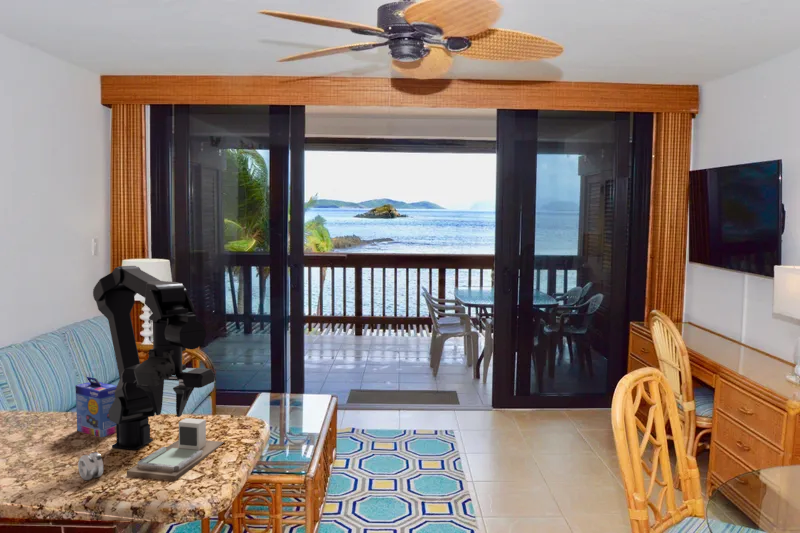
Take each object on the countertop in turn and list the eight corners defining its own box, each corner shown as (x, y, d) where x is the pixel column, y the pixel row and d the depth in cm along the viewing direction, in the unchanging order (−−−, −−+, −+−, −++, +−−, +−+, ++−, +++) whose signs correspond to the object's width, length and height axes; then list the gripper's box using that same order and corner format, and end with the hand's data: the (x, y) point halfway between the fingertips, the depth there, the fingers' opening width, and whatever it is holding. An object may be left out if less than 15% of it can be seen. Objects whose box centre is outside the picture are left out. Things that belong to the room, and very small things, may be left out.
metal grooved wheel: (103, 479, 121) (103, 455, 121) (88, 484, 119) (87, 459, 119) (92, 473, 124) (91, 449, 124) (77, 477, 122) (76, 453, 122)
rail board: (126, 476, 123) (126, 470, 123) (181, 443, 142) (181, 437, 142) (175, 481, 120) (175, 475, 120) (224, 447, 140) (224, 441, 140)
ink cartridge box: (75, 433, 148) (73, 375, 147) (95, 427, 153) (94, 371, 152) (100, 440, 143) (99, 381, 142) (121, 434, 148) (120, 376, 147)
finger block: (177, 448, 135) (177, 422, 135) (186, 443, 139) (185, 418, 138) (198, 450, 134) (197, 424, 134) (205, 445, 137) (205, 419, 137)
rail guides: (135, 467, 124) (135, 463, 124) (163, 451, 134) (163, 446, 134) (177, 472, 122) (177, 467, 122) (202, 454, 132) (202, 450, 132)
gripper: (102, 347, 121) (104, 424, 122) (185, 352, 117) (186, 431, 118) (138, 338, 132) (139, 408, 133) (215, 342, 128) (216, 414, 128)
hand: (168, 415), depth 127 cm, fingers open, 4 cm apart
